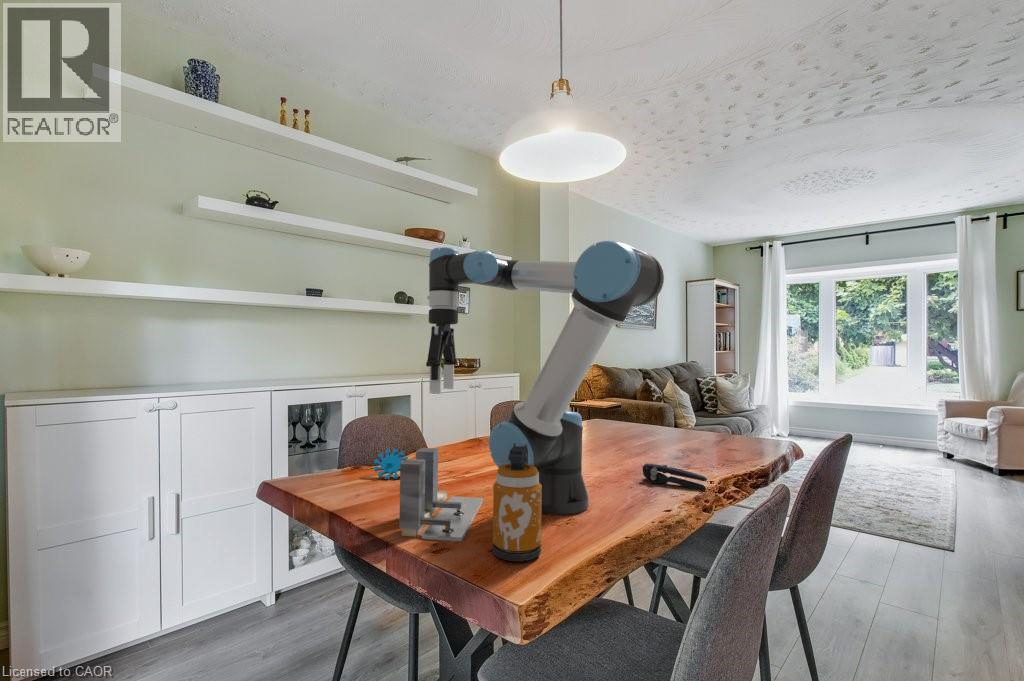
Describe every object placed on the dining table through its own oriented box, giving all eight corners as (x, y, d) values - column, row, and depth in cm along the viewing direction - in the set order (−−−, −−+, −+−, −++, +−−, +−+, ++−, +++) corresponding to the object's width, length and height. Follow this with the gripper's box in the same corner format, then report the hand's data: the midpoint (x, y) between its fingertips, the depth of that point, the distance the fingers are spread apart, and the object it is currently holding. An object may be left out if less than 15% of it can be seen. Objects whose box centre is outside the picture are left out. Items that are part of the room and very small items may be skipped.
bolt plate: (451, 499, 121) (451, 496, 121) (482, 501, 120) (483, 497, 120) (422, 539, 96) (422, 534, 96) (461, 541, 95) (461, 537, 95)
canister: (488, 562, 86) (489, 449, 86) (499, 538, 97) (500, 438, 97) (538, 566, 84) (539, 452, 85) (544, 541, 95) (545, 440, 96)
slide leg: (420, 506, 112) (421, 447, 112) (462, 508, 111) (463, 449, 111) (415, 512, 108) (415, 451, 108) (459, 514, 107) (459, 453, 107)
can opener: (638, 483, 138) (639, 463, 138) (645, 477, 144) (645, 459, 144) (704, 494, 129) (704, 472, 129) (709, 487, 135) (709, 467, 135)
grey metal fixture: (433, 496, 123) (434, 439, 123) (472, 498, 122) (473, 440, 122) (399, 535, 97) (400, 463, 98) (447, 538, 96) (448, 465, 96)
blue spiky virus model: (368, 474, 137) (379, 445, 144) (370, 485, 141) (380, 455, 148) (407, 480, 137) (416, 450, 144) (408, 491, 141) (416, 461, 148)
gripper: (441, 312, 138) (440, 386, 137) (414, 304, 113) (413, 395, 113) (467, 312, 137) (466, 387, 137) (445, 304, 112) (444, 396, 112)
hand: (442, 391), depth 125 cm, fingers open, 13 cm apart
